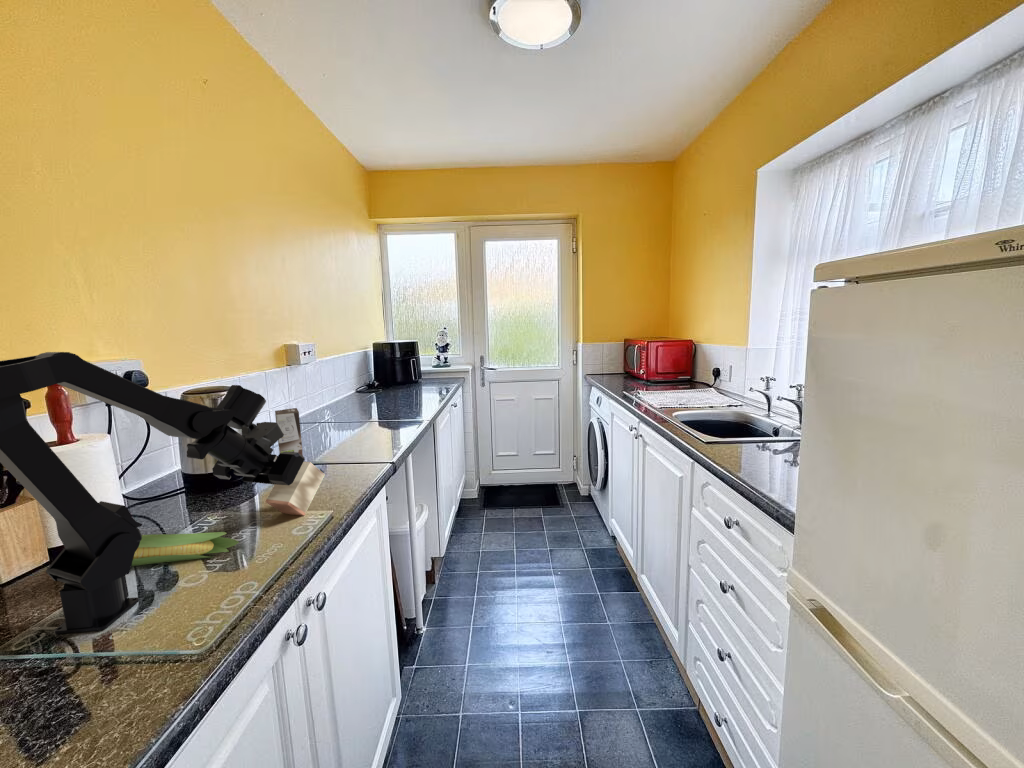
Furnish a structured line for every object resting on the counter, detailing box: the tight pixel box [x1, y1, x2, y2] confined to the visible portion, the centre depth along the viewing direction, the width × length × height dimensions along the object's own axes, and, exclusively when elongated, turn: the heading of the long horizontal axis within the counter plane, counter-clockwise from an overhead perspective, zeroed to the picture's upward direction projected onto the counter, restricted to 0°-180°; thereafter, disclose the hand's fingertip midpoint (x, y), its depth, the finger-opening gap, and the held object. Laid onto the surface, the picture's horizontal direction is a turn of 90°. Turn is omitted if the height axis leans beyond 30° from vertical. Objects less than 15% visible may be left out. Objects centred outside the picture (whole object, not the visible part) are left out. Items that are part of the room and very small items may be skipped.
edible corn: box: [131, 531, 240, 567], centre depth 76 cm, size 5×20×5 cm
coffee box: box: [274, 407, 304, 457], centre depth 131 cm, size 9×6×16 cm
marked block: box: [264, 461, 326, 517], centre depth 94 cm, size 6×6×10 cm
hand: (284, 482), depth 91 cm, fingers closed
